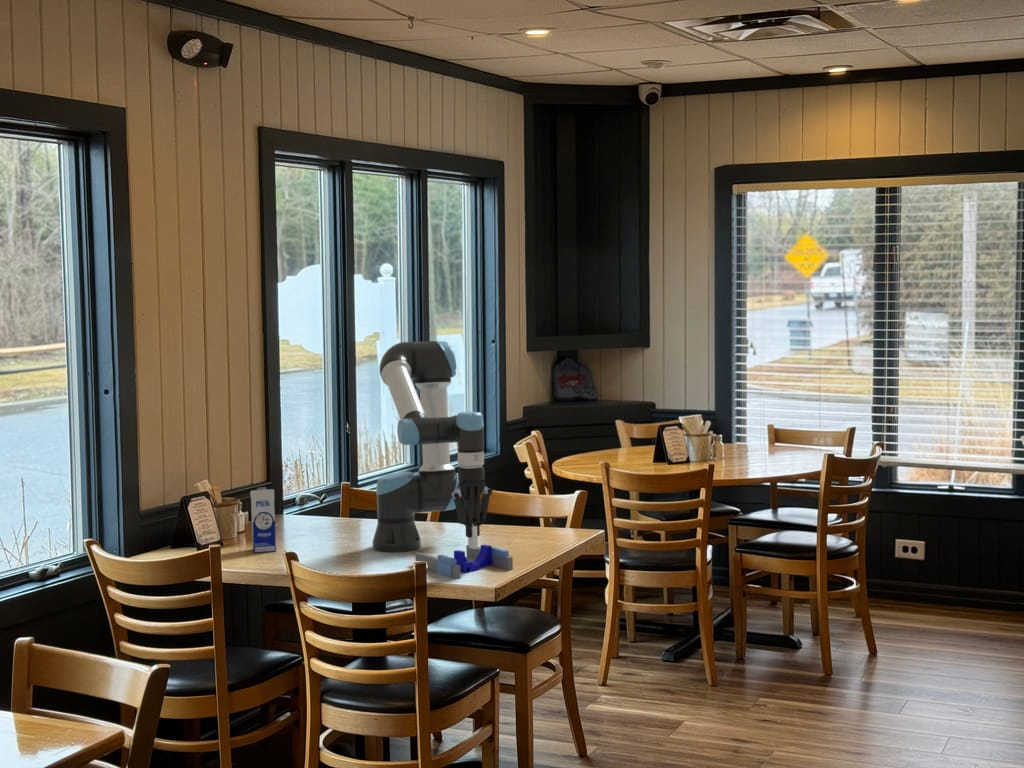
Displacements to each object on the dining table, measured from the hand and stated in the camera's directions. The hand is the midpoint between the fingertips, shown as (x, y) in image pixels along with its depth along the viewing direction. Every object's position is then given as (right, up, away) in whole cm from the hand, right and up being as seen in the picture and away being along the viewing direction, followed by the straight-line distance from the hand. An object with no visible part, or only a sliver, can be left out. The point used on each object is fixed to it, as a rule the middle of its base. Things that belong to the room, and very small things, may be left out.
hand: (473, 548), depth 343 cm
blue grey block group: (-3, -6, +5) cm, 8 cm away
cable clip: (0, -7, +3) cm, 7 cm away
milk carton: (-67, -6, +35) cm, 76 cm away
